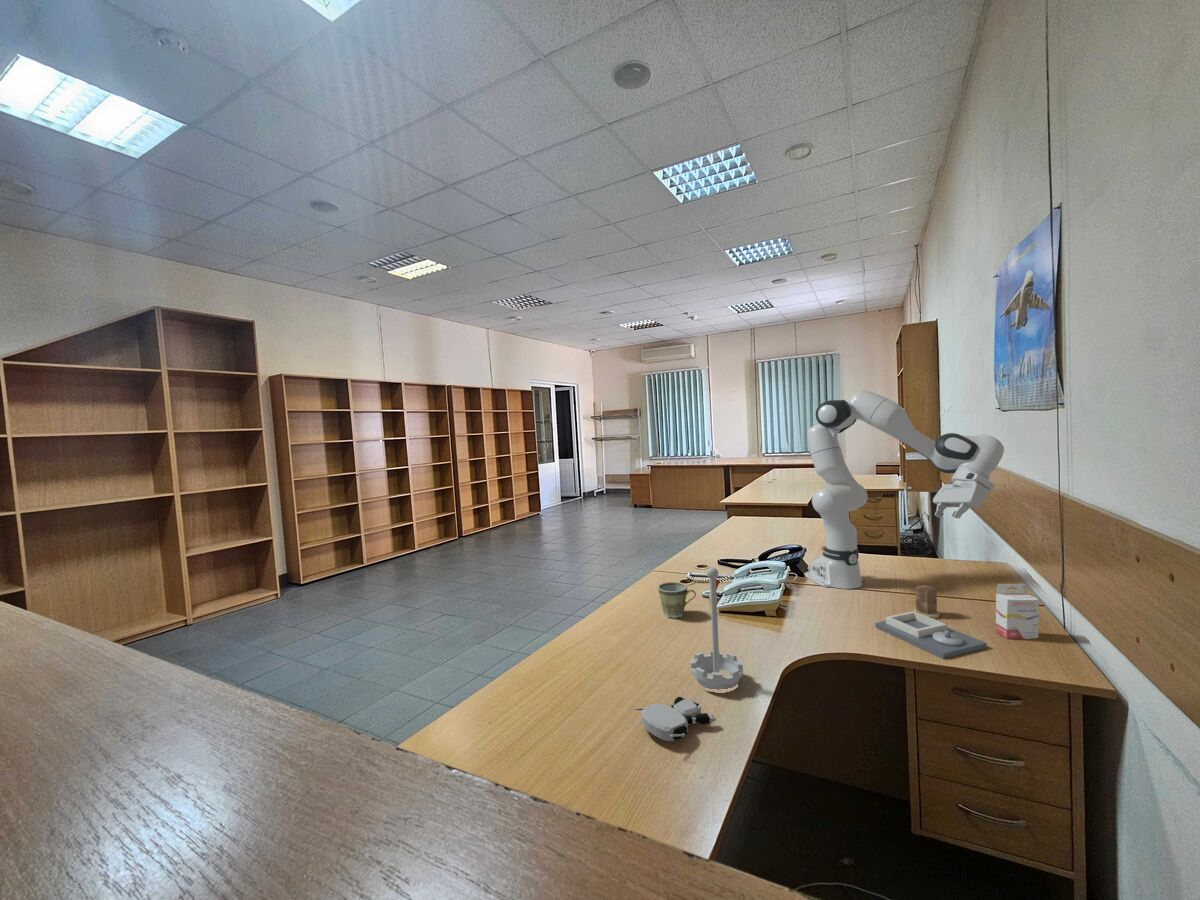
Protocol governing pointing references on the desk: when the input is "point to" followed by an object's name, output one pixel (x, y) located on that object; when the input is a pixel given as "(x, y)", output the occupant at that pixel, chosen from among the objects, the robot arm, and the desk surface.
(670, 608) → the ceramic cup
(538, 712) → the desk surface
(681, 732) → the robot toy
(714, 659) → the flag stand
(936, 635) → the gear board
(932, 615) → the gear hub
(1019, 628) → the ink cartridge box
